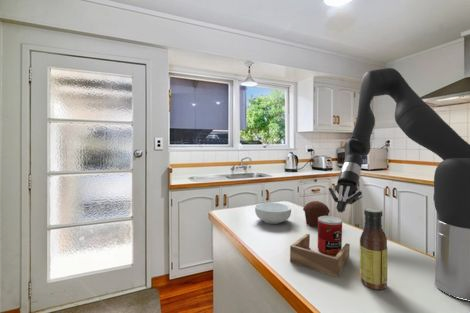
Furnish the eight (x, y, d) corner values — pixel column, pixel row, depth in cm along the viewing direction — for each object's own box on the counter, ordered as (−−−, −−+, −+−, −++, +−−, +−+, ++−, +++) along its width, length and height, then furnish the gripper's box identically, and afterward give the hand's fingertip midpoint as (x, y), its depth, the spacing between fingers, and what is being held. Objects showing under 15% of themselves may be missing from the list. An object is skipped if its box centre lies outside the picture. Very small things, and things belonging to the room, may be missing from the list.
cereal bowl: (294, 227, 105) (294, 211, 104) (256, 227, 105) (256, 211, 105) (287, 216, 122) (287, 202, 121) (254, 215, 122) (254, 202, 121)
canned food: (327, 257, 78) (327, 223, 77) (312, 247, 85) (313, 216, 85) (346, 254, 80) (347, 221, 79) (331, 244, 87) (331, 214, 87)
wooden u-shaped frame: (306, 247, 85) (306, 233, 85) (349, 259, 76) (349, 244, 76) (290, 261, 75) (290, 245, 75) (336, 277, 66) (337, 259, 66)
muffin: (318, 218, 117) (318, 198, 116) (335, 226, 107) (335, 203, 106) (297, 221, 113) (297, 200, 112) (313, 229, 102) (313, 206, 102)
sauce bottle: (377, 277, 66) (379, 206, 65) (392, 291, 60) (395, 212, 59) (353, 277, 66) (355, 206, 65) (367, 291, 60) (369, 213, 59)
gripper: (331, 168, 102) (320, 203, 93) (366, 171, 93) (357, 209, 85) (334, 179, 106) (324, 213, 97) (368, 182, 98) (360, 220, 89)
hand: (340, 211), depth 91 cm, fingers closed
